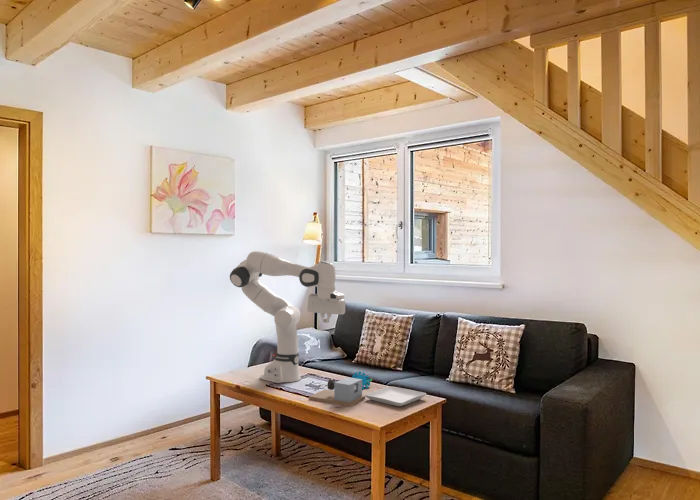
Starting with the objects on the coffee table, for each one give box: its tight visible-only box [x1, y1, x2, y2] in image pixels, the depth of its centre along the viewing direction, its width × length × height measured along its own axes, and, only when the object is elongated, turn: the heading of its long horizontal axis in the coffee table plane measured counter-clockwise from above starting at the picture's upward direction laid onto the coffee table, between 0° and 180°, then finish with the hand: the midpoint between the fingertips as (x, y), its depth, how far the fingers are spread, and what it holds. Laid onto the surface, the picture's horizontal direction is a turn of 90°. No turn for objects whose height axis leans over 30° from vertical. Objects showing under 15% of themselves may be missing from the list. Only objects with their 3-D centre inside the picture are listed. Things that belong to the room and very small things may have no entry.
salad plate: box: [364, 385, 427, 407], centre depth 246 cm, size 21×21×3 cm
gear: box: [351, 371, 373, 390], centre depth 269 cm, size 11×6×10 cm
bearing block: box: [308, 376, 366, 407], centre depth 246 cm, size 22×14×9 cm, turn 61°
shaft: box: [326, 378, 357, 391], centre depth 245 cm, size 14×5×5 cm, turn 61°
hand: (325, 322), depth 260 cm, fingers closed
